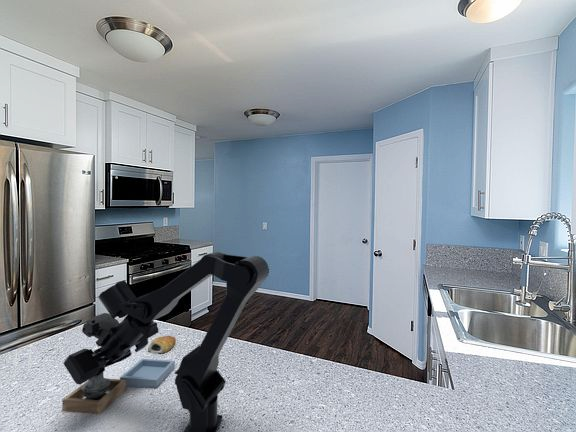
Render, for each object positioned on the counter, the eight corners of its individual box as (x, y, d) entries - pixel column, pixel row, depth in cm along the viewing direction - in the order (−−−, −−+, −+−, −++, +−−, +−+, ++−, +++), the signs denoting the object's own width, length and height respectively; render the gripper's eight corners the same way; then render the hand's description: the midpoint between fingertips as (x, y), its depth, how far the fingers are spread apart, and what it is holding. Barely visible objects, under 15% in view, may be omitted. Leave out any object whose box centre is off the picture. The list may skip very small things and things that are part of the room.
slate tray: (156, 388, 78) (156, 380, 78) (119, 385, 79) (119, 377, 79) (174, 368, 88) (174, 360, 88) (141, 366, 89) (141, 358, 89)
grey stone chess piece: (96, 409, 69) (96, 357, 69) (74, 405, 71) (75, 354, 70) (115, 393, 75) (116, 346, 75) (95, 390, 76) (95, 343, 76)
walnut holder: (100, 413, 68) (100, 402, 68) (62, 410, 69) (62, 399, 69) (126, 389, 77) (126, 379, 77) (92, 387, 78) (92, 377, 78)
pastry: (163, 340, 106) (163, 330, 106) (181, 343, 105) (181, 332, 105) (145, 353, 97) (146, 341, 97) (164, 355, 96) (164, 343, 96)
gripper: (139, 294, 80) (107, 330, 84) (70, 318, 62) (32, 362, 66) (164, 328, 78) (129, 363, 81) (99, 362, 60) (58, 405, 64)
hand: (91, 371), depth 73 cm, fingers closed on grey stone chess piece, 3 cm apart
